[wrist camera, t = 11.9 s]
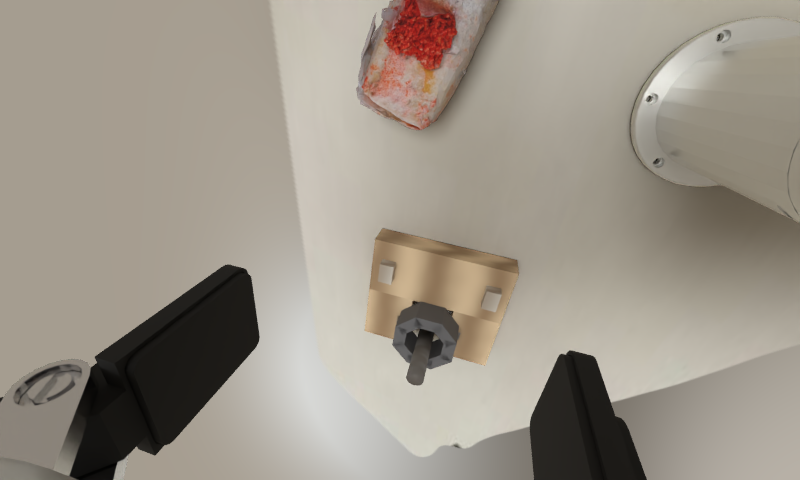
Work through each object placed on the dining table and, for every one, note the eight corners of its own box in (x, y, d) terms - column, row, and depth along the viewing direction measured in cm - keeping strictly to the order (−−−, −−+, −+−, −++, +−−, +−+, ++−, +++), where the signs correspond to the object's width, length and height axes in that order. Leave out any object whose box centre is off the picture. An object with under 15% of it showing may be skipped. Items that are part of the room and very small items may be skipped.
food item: (441, 130, 34) (424, 149, 25) (371, 94, 34) (330, 101, 25) (517, -29, 27) (530, -77, 18) (430, -73, 27) (401, -140, 18)
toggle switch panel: (517, 260, 38) (525, 323, 28) (485, 348, 44) (483, 423, 35) (382, 228, 40) (348, 276, 31) (371, 316, 47) (340, 378, 37)
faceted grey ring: (463, 312, 39) (460, 329, 36) (450, 355, 42) (447, 374, 40) (403, 296, 40) (397, 312, 38) (396, 340, 44) (390, 357, 41)
